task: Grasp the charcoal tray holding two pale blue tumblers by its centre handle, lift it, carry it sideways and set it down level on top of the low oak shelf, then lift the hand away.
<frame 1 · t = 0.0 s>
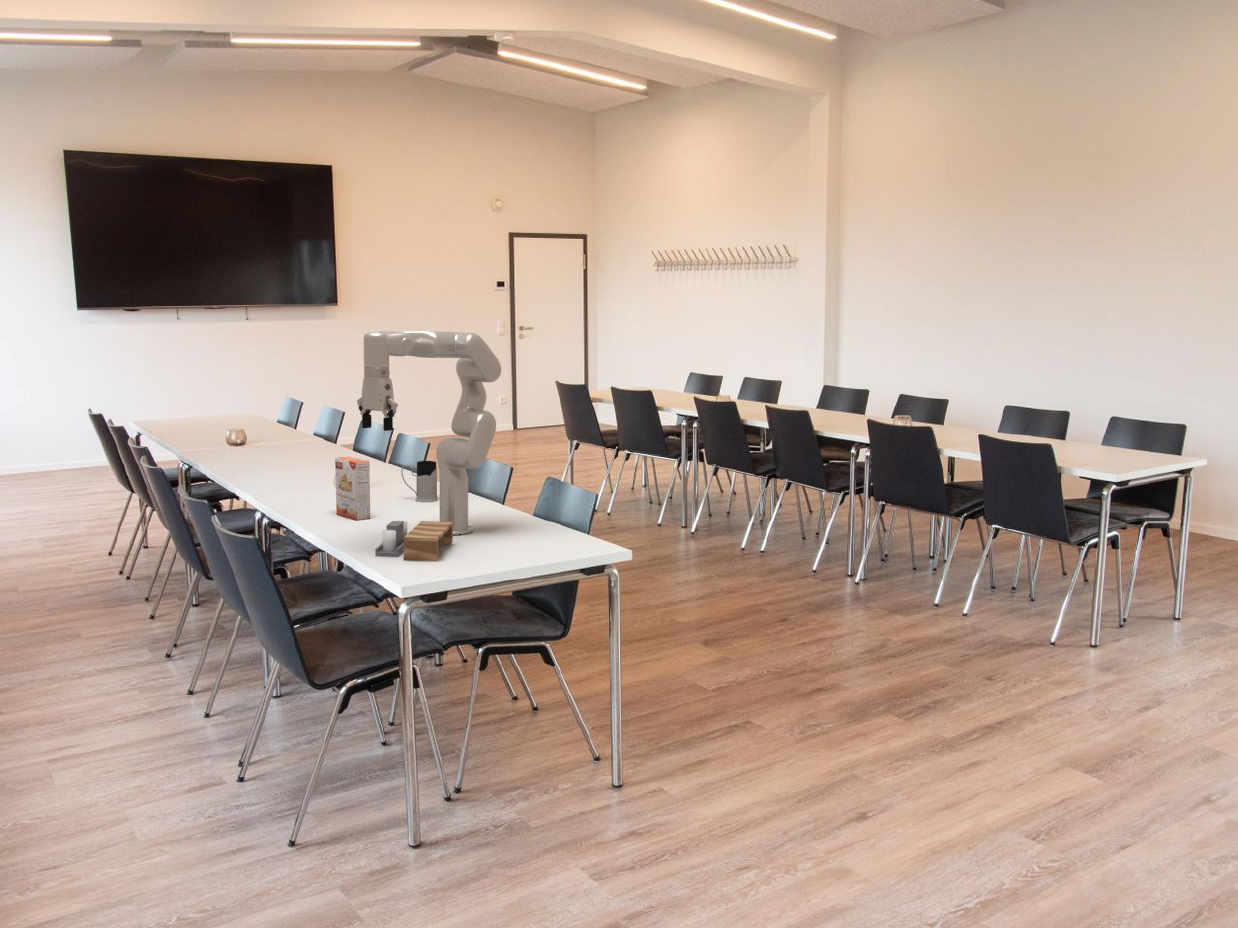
hand: (377, 429, 326), 37 cm above the table, tool pointing down, fingers open, 9 cm apart
tray: (395, 550, 330), on the table
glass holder: (419, 500, 413), on the table
shelf: (429, 551, 328), on the table
cracker box: (353, 517, 378), on the table
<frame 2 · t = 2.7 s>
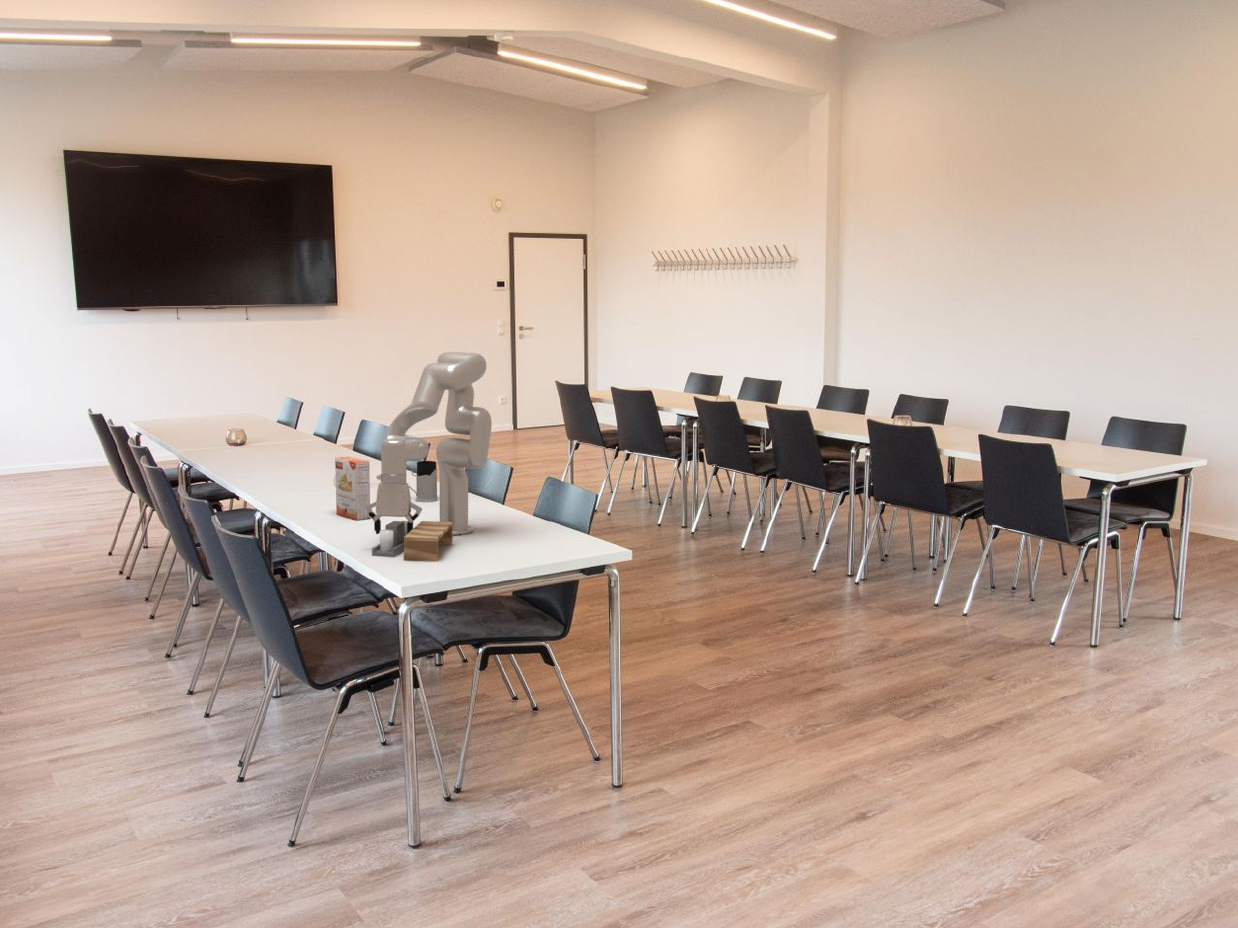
hand: (393, 533, 329), 5 cm above the table, tool pointing down, fingers open, 9 cm apart
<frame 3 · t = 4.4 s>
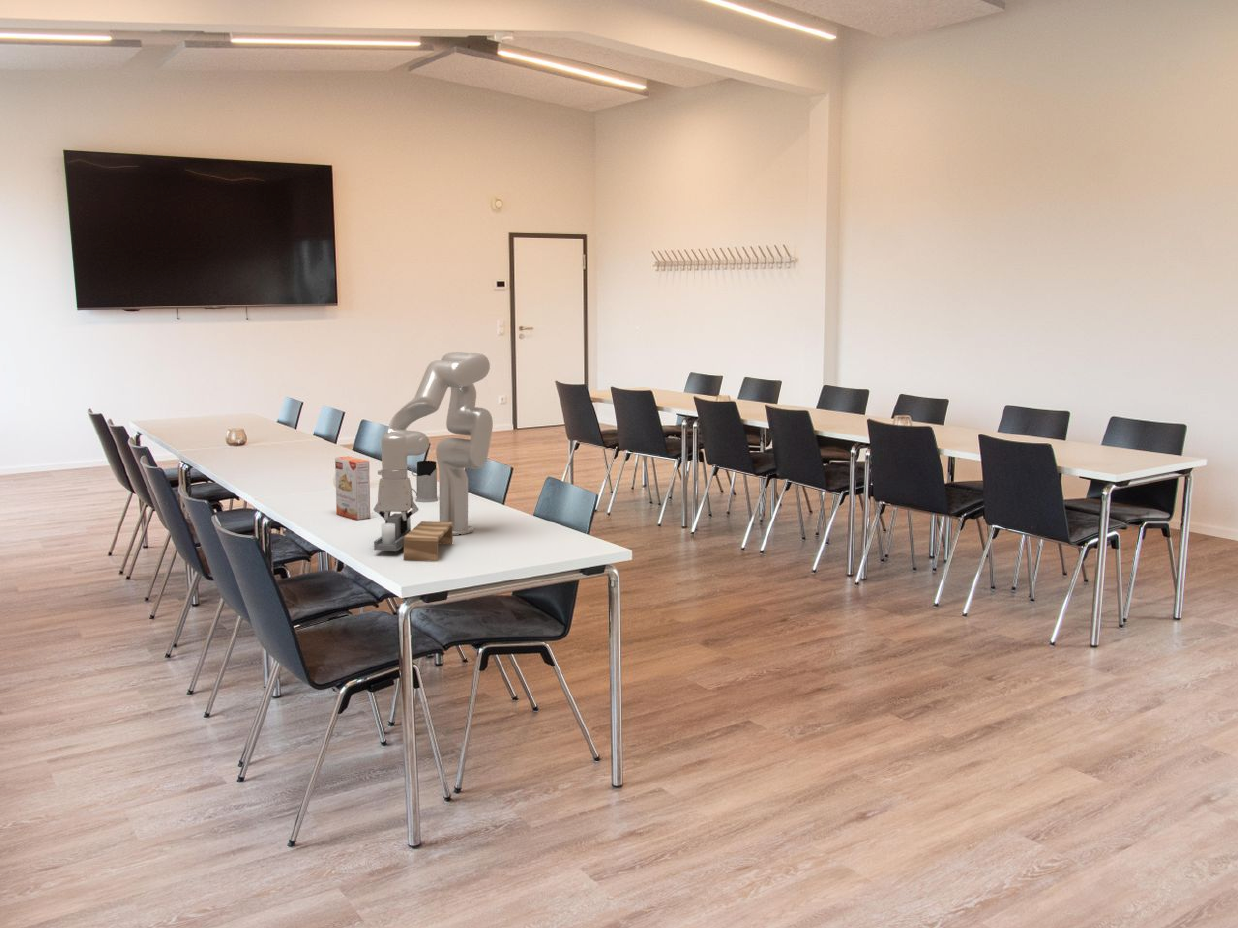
hand: (396, 531, 330), 5 cm above the table, tool pointing down, fingers closed on tray, 3 cm apart
tray: (396, 542, 330), point 2 cm above the table, touching gripper
everything else where it was.
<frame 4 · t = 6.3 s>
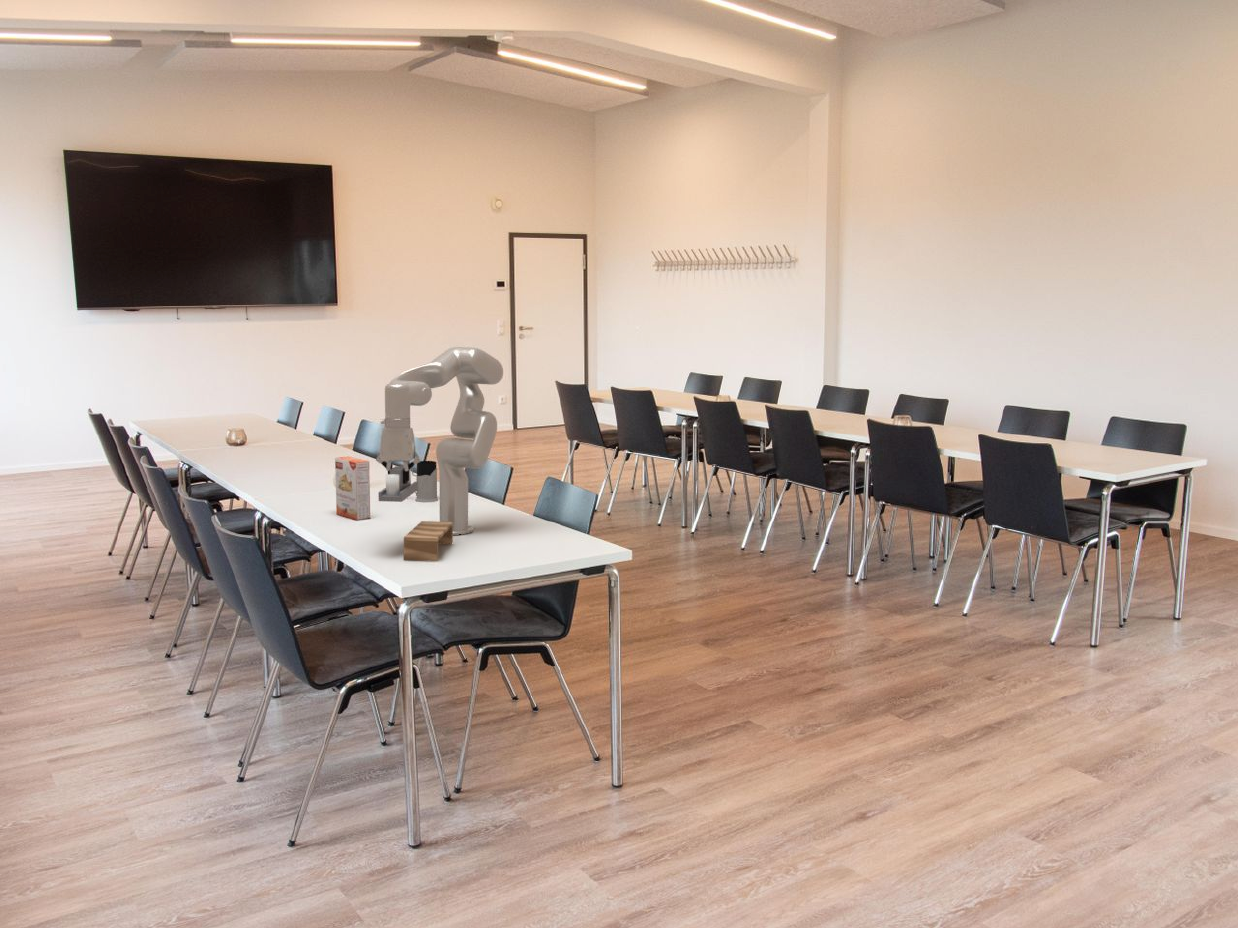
hand: (398, 482, 327), 21 cm above the table, tool pointing down, fingers closed on tray, 3 cm apart
tray: (398, 495, 327), point 17 cm above the table, touching gripper
everything else where it was.
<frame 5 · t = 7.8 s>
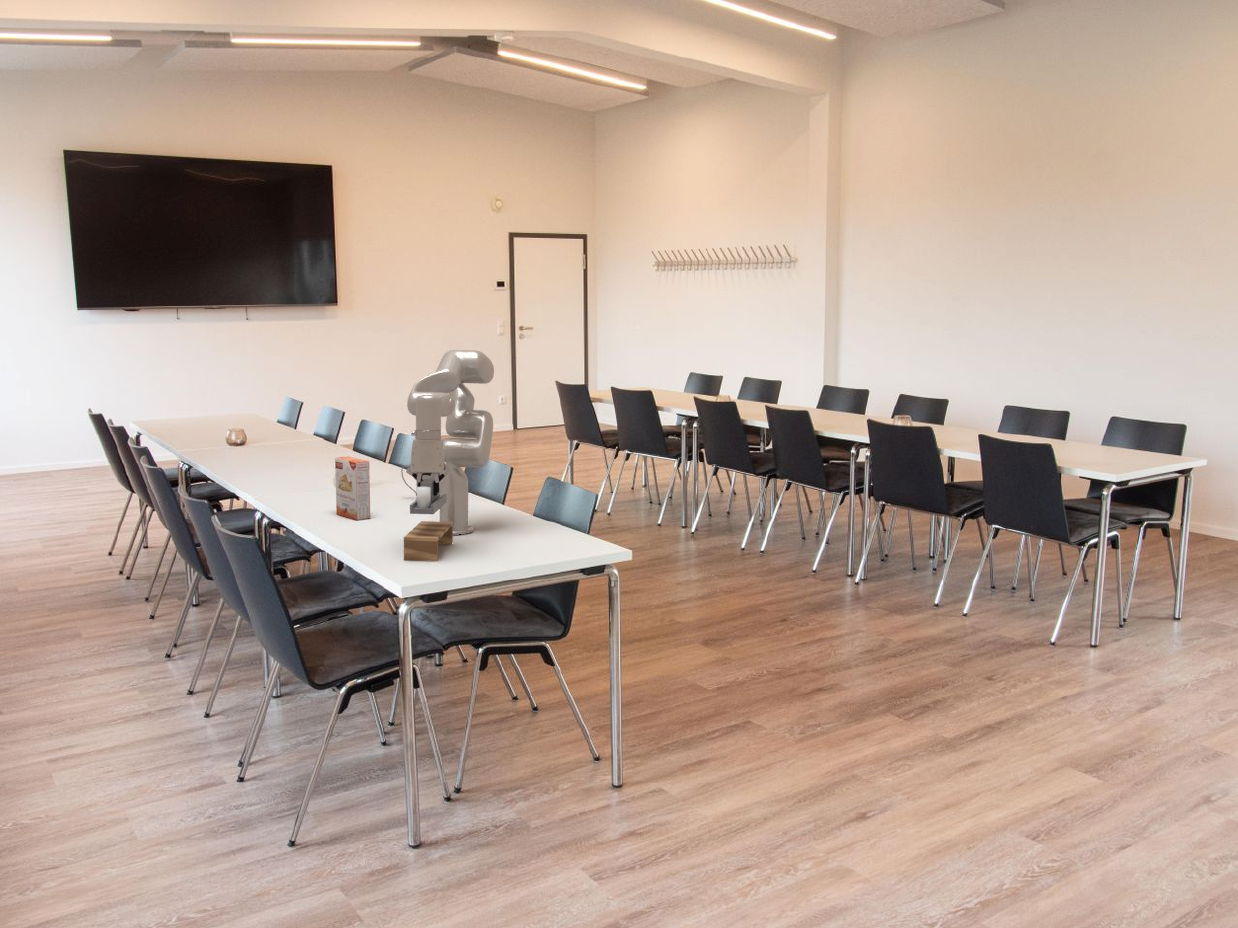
hand: (428, 494, 325), 18 cm above the table, tool pointing down, fingers closed on tray, 3 cm apart
tray: (428, 507, 325), point 14 cm above the table, touching gripper
everything else where it was.
when the fingers open (12 cm above the table, at t = 9.1 s): tray stays where it is, resting on shelf.
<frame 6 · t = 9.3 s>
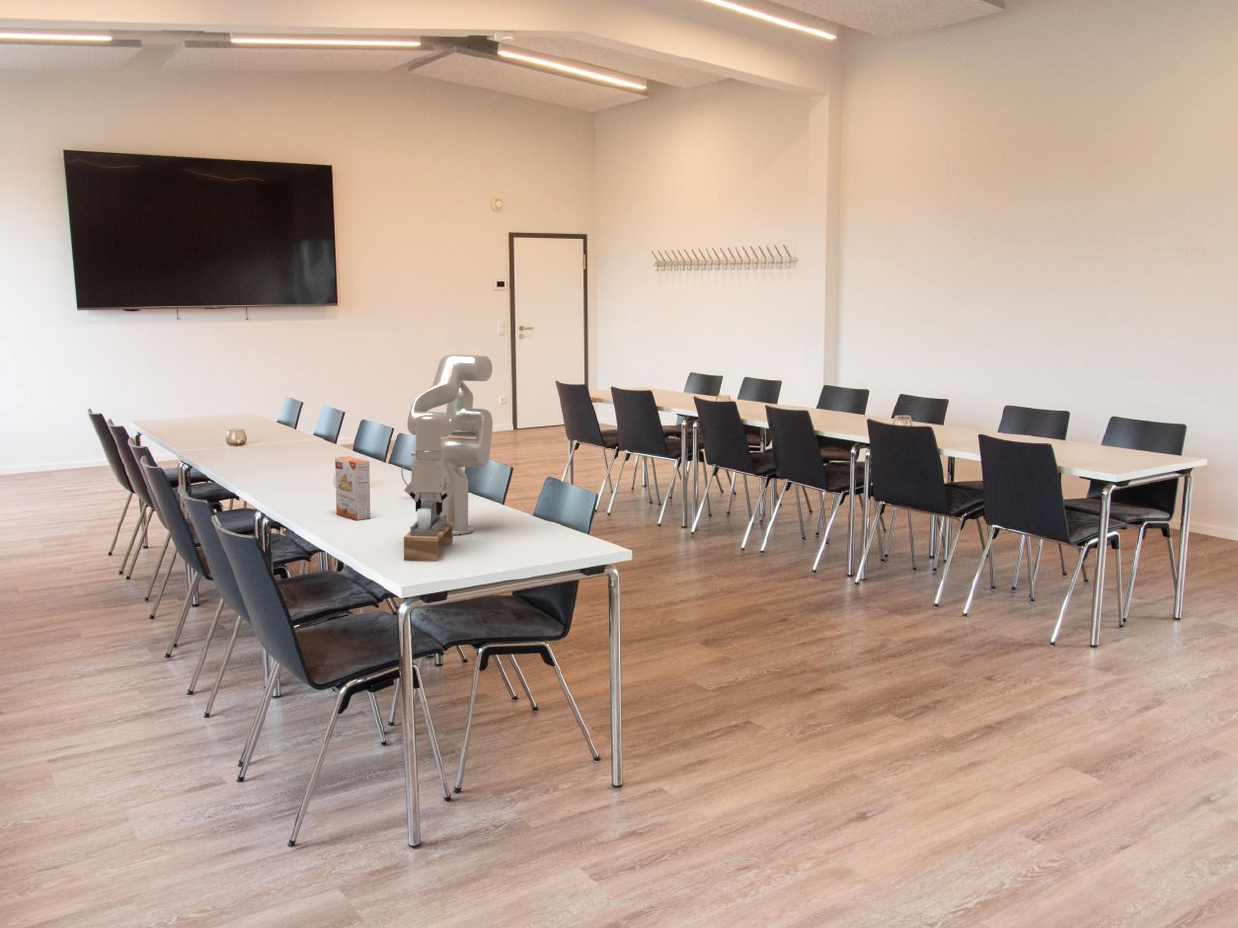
hand: (429, 513, 326), 12 cm above the table, tool pointing down, fingers open, 5 cm apart
tray: (429, 529, 327), point 7 cm above the table, touching shelf
everything else where it was.
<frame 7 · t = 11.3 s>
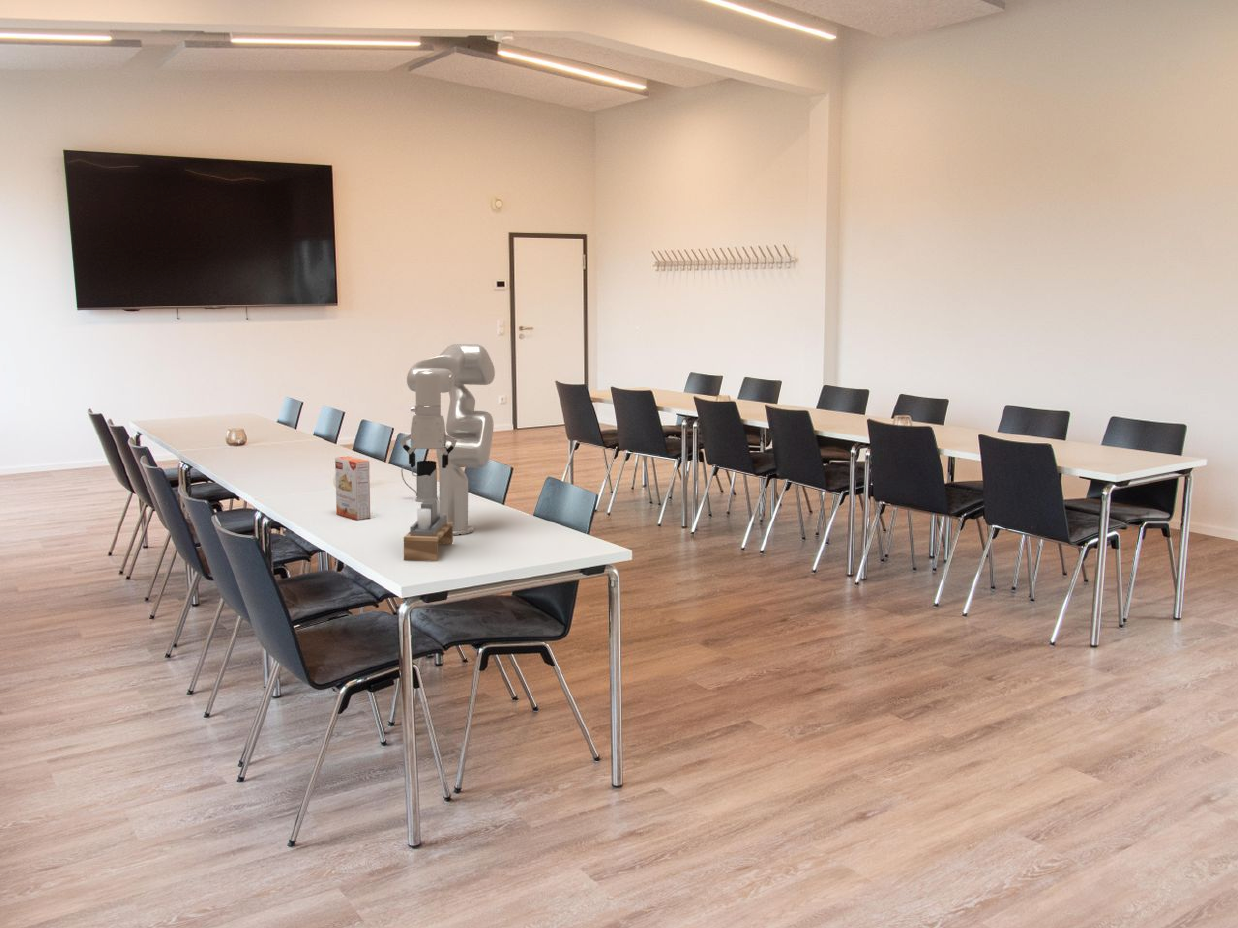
hand: (428, 467, 324), 26 cm above the table, tool pointing down, fingers open, 9 cm apart
nothing on the table moved.
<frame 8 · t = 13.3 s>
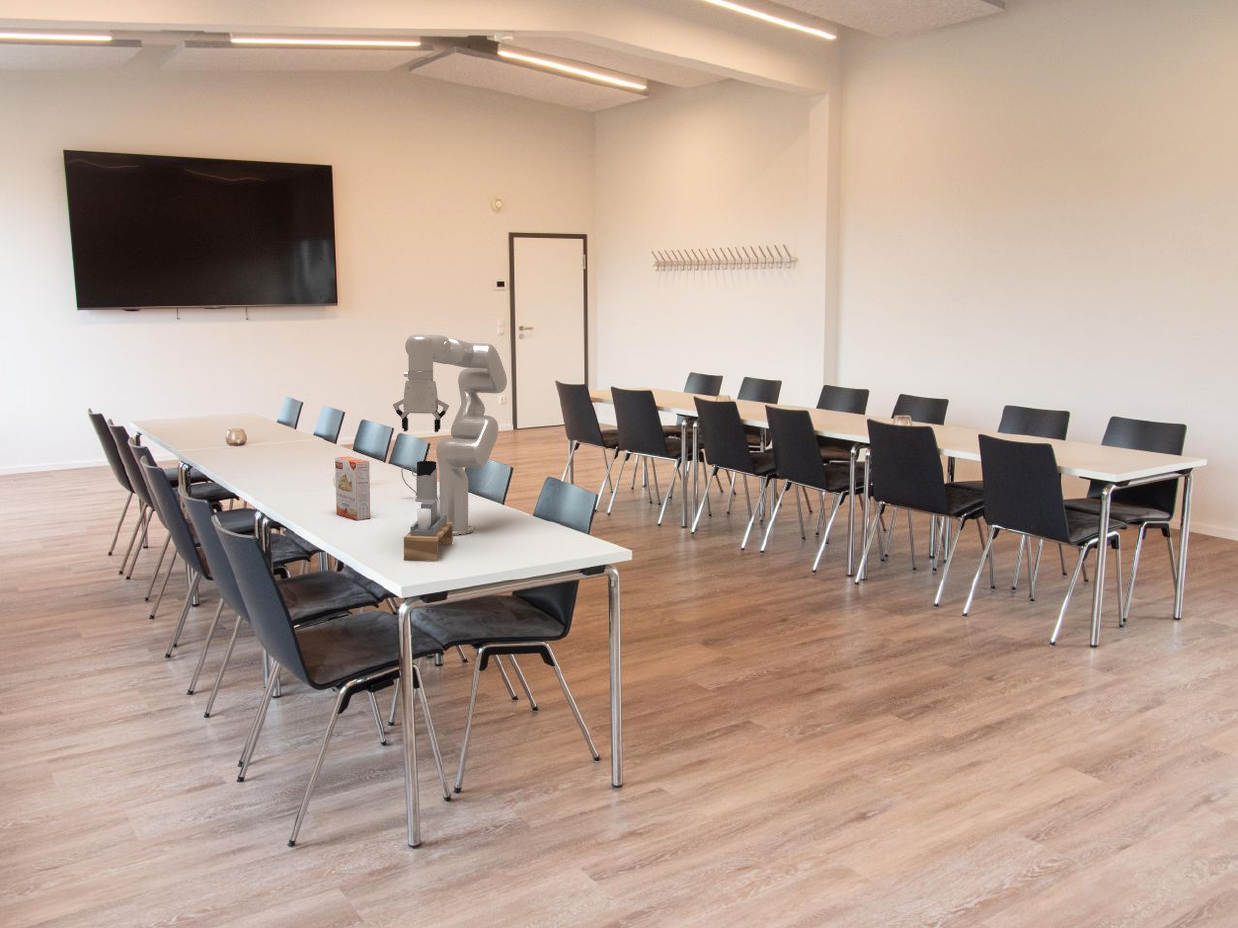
hand: (421, 431, 330), 36 cm above the table, tool pointing down, fingers open, 9 cm apart
nothing on the table moved.
at the end: tray inside the target area on the shelf (0.1 cm from its centre), point 7.0 cm above the shelf's base; tray tilted 0°; the gripper is holding nothing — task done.
